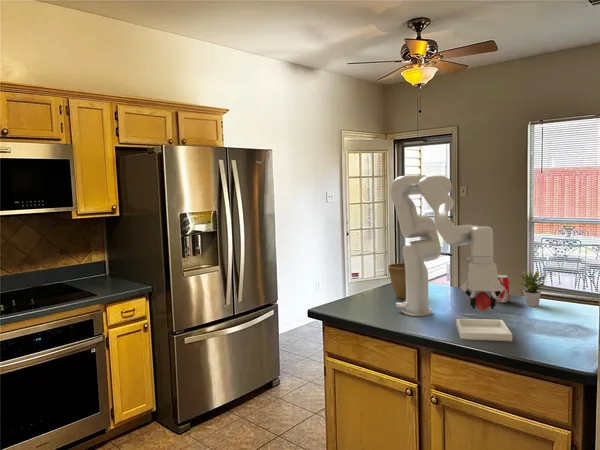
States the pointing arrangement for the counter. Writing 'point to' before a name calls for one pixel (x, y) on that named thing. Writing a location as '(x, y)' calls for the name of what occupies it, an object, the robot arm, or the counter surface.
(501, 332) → the tray
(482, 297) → the red round fruit
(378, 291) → the counter surface
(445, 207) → the robot arm
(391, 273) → the plant pot
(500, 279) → the soda can
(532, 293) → the house plant
